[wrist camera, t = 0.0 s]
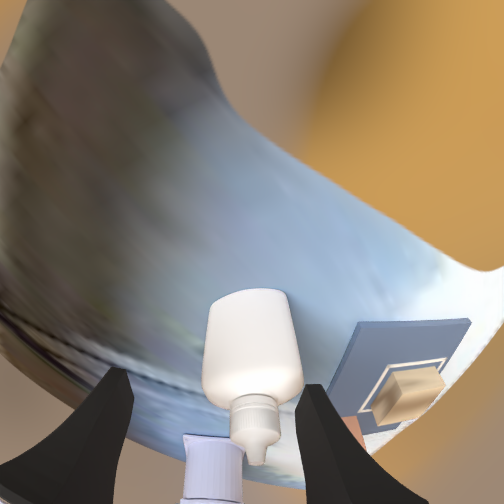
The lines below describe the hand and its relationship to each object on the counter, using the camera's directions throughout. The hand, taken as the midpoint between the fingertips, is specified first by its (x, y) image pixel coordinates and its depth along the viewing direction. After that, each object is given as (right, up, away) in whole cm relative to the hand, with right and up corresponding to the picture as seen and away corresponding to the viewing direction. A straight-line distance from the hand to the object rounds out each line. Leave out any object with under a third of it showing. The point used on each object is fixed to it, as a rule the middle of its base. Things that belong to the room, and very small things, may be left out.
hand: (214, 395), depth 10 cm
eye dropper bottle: (+1, +2, +11) cm, 11 cm away
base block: (+18, -9, +16) cm, 26 cm away
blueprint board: (+16, -10, +17) cm, 25 cm away
